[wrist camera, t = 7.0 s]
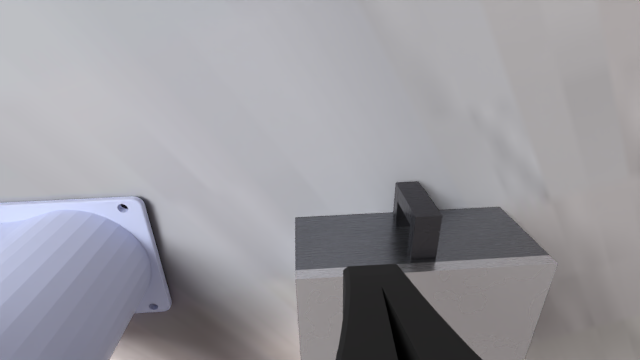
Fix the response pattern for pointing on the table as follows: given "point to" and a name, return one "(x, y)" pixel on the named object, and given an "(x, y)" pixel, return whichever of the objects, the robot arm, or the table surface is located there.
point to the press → (427, 271)
